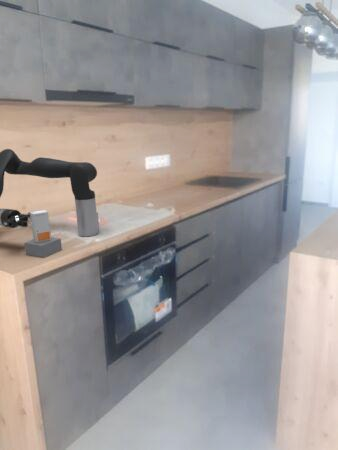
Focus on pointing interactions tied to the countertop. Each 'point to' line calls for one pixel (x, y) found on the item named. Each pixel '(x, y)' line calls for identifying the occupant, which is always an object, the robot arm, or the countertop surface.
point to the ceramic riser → (43, 247)
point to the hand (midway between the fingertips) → (35, 221)
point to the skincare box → (40, 226)
